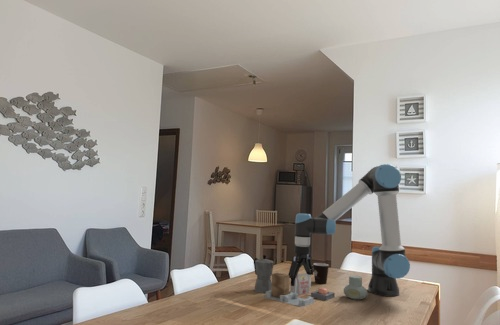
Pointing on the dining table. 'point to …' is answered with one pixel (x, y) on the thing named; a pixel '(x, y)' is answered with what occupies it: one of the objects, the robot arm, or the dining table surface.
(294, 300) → the board
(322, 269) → the coffee mug
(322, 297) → the switch box
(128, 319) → the dining table surface
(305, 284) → the tea bag
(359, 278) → the air freshener
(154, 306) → the dining table surface
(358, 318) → the dining table surface
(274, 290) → the walnut block
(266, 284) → the coffeepot
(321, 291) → the button
